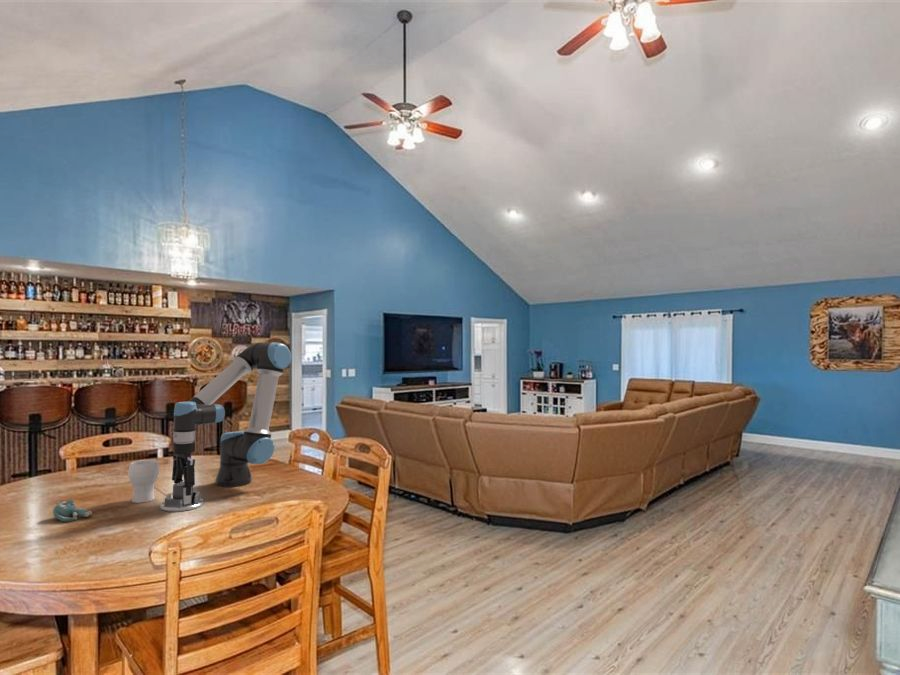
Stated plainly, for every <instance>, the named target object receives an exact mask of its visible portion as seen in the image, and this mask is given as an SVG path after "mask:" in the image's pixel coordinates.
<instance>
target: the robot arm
mask: <svg viewBox="0 0 900 675" xmlns="http://www.w3.org/2000/svg"><path fill="white" fill-rule="evenodd" d="M291 362H292V353H291V351H290V349H289V347H288V346H287V345H286V344H284V343H281V342H275V341H274V342H256V343H253V344H251V345H249V346H248V347H246V348H245V349H244V350H242V351H240V353H238V354H237V355H236V356H235V357H234V358H233V361H232V362H231V363H230V364H229V365H228V366H227V367H226V368H225V369H223V370H222V371H221V372H220V373H219V374H217V375H216V377H214V378H213V379H212V380H211V381H210V382H208V383H207V385H205V386H204V387H203V388H202V389H200V390H199V391H198V392H197V393H196V394H195V395H194V396H192V398H190V399H189V400H188V401H179V402H176V403H175V404H174V409H173V434H172V435H171V436H172V438H173V439H172V440H173V442H174V443H173V444H172V453H174V454H176V455H173V456H172V471H171V472H172V474H171V475H172V476H171V480H172V481H173V483H174V484H176V483H180V482H184V484H185V486H183V505H185V504H190V503H191V490H192V486H193V487H194V486H196V485H195V484H196V478H195V474H196V473H195V471H196V470H195V464H196V463H195V462H196V459H193V458H192V455H191V454H192V453H194V452H195V451H196V442H195V441H196V432H197V430H196V426H201V425H208V424H217V423H221V422H222V421H224V419H225V417H226V411H225V410H226V409H225V408H224V406H223V405H222V404H215V402H216V401H217V400H218V399H219V398H221V396H222V395H224V394H225V393H226V392H227V391H228V390H229V389H230V388H231V387H233V385H235V384H236V383H237V382H238V381H239V380H240V379H242V377H244V376H245V375H246V374H250V373H251V372H253V370H255V369H256V372H257V373H258V377H257V384H256V388H255V393H254V399H253V404H252V408H251V413H250V414H251V415H250V417H249V419H250V420H249V424H248V427H247V428H246V429H245V430H238V431H237V430H235V431H228V432H224V433H222V434H221V436H220V441H219V443H220V447H219V448H220V455H219V456H220V457H219V469H218V472H217V474H216V477H215V482H214V484H215V485H216V486H217V487H218V486H219V487H223V488H224V487H225V488H226V487H227V488H229V487H239V486H244V485H247V484H250V483H251V482H252V477H253V476H252V473H251V471H250V467H249V464H252V465H253V464H254V465H262V464H265V463H266V462H268V461H270V459H271V458H272V457H273V455H274V452H275V449H276V448H275V443H274V441H273V440H272V438H271V437H272V432H271V431H270V426H271V425H270V424H271V421H272V420H271V419H272V416H273V410H274V404H275V399H276V394H277V393H276V392H277V389H278V383H279V382H278V381H279V377H281V376H282V375H283V374H284V371H285V369H286V368H288V367H289V365H290V364H291Z"/></svg>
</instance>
